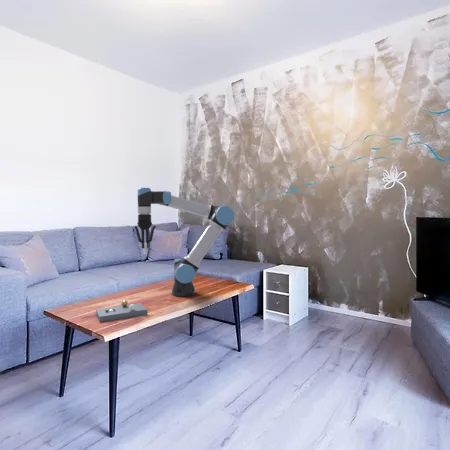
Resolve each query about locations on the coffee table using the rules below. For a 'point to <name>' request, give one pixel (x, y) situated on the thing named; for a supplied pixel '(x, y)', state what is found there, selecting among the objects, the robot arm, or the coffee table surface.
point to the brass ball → (124, 303)
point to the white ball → (132, 307)
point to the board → (120, 312)
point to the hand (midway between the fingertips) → (145, 253)
